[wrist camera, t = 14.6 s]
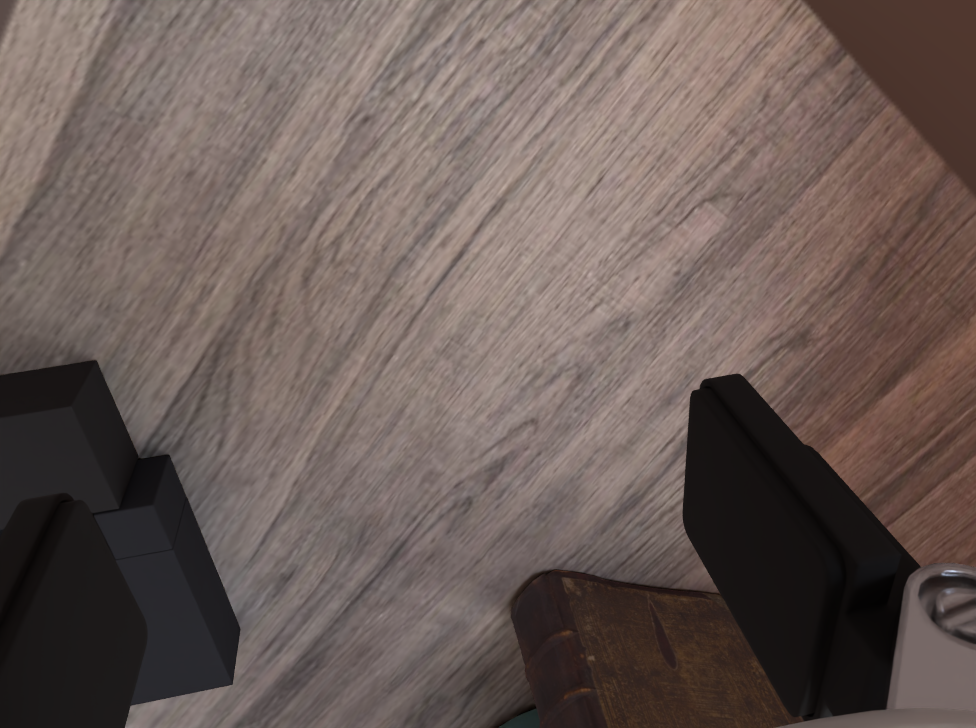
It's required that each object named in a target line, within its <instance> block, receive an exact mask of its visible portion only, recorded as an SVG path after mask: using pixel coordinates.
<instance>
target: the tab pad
mask: <svg viewBox="0 0 976 728" xmlns="http://www.w3.org/2000/svg"><path fill="white" fill-rule="evenodd" d="M137 460H138V455H137V453H136V451H135V448H134V446H133V444H132V441H131V439H130V437H129V434H128V432H127V430H126V428H125V425H124V423H123V421H122V418H121V416H120V414H119V412H118V409H117V407H116V405H115V402H114V400H113V398H112V395H111V393H110V391H109V389H108V386H107V384H106V382H105V379H104V377H103V375H102V373H101V370H100V368H99V366H98V363H97V361H89V362H83V363H77V364H70V365H64V366H58V367H52V368H45V369H39V370H33V371H27V372H20V373H14V374H8V375H1V376H0V530H2V529H4V528H5V527H6V525H7V523H8V521H9V519H10V518H11V516H12V514H13V512H14V510H15V509H16V507H17V505H18V504H19V503H20V502H21V501H23V500H25V499H30V498H36V497H41V496H47V495H53V494H58V493H68V494H69V495H70V496H72V498H73V499H74V500H83V501H84V502H85V503H86V504H87V505H88V507H89V509H90V511H91V513H92V515H93V517H94V514H95V513H96V512H102V511H108V510H113V509H118V508H120V505H121V503H122V500H123V497H124V495H125V492H126V489H127V487H128V484H129V481H130V478H131V476H132V473H133V470H134V468H135V465H136V462H137ZM94 519H95V517H94ZM95 521H96V519H95ZM96 523H97V521H96ZM97 525H98V523H97ZM98 527H99V525H98ZM99 529H100V527H99ZM100 531H101V529H100ZM101 533H102V531H101ZM102 535H103V533H102ZM103 537H104V535H103ZM104 539H105V537H104ZM105 541H106V539H105Z"/></svg>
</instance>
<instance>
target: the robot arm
mask: <svg viewBox="0 0 976 728" xmlns="http://www.w3.org/2000/svg"><path fill="white" fill-rule="evenodd" d="M683 523H684V527H685V530H686V533H687V535H688V537H689V539H690V541H691V543H692V545H693V546H694V548H695V550H696V552H697V553H698V555H699V557H700V559H701V560H702V562H703V564H704V566H705V568H706V569H707V571H708V573H709V575H710V576H711V578H712V580H713V582H714V583H715V585H716V587H717V589H718V590H719V592H720V594H721V596H722V598H723V599H724V601H725V603H726V605H727V606H728V608H729V610H730V612H731V613H732V615H733V617H734V619H735V620H736V622H737V624H738V626H739V628H740V629H741V631H742V633H743V635H744V636H745V638H746V640H747V642H748V643H749V645H750V647H751V649H752V650H753V652H754V654H755V656H756V658H757V659H758V661H759V663H760V665H761V666H762V668H763V670H764V672H765V673H766V675H767V677H768V679H769V681H770V682H771V684H772V686H773V688H774V689H775V691H776V693H777V695H778V696H779V698H780V700H781V702H782V703H783V705H784V707H785V708H786V710H787V711H788V713H789V714H790V715H791V716H793V717H800V716H802V718H803V720H804V721H805V722H800V723H795V724H790V725H785V726H780V727H776V728H976V568H975V567H972V566H967V565H961V564H956V563H934V564H930V565H927V566H924V567H920V565H919V564H918V563H917V562H916V561H915V560H914V559H913V558H912V557H911V555H910V554H909V553H908V552H907V551H906V550H905V549H904V548H903V547H902V545H901V544H900V543H899V542H898V541H897V540H896V539H895V538H894V537H893V535H892V534H891V533H890V532H889V531H888V530H887V529H886V528H885V527H884V525H883V524H882V523H881V522H880V521H879V520H878V519H877V518H876V517H875V515H874V514H873V513H872V512H871V511H870V510H869V509H868V508H867V507H866V505H865V504H864V503H863V502H862V501H861V500H860V499H859V498H858V497H857V495H856V494H855V493H854V492H853V491H852V490H851V489H850V488H849V487H848V485H847V484H846V483H845V482H844V481H843V480H842V479H841V478H840V477H839V475H838V474H837V473H836V472H835V471H834V470H833V469H832V468H831V467H830V465H829V464H828V463H827V462H826V461H825V460H824V459H823V458H822V457H821V455H820V454H819V453H818V452H817V451H815V450H814V449H813V448H812V447H811V446H807V445H804V444H803V443H802V442H801V441H800V440H799V439H798V437H797V436H796V435H795V434H794V433H793V432H792V431H791V430H790V428H789V427H788V426H787V425H786V424H785V423H784V422H783V421H782V419H781V418H780V417H779V416H778V415H777V414H776V413H775V412H774V410H773V409H772V408H771V407H770V406H769V405H768V404H767V403H766V401H765V400H764V399H763V398H762V397H761V396H760V395H759V394H758V392H757V391H756V390H755V389H754V388H753V387H752V386H751V385H750V383H749V382H748V381H747V380H746V379H745V378H744V377H743V376H742V375H741V374H732V375H726V376H721V377H715V378H709V379H705V380H703V381H702V383H701V385H700V389H699V390H694V391H692V393H691V396H690V408H689V423H688V438H687V453H686V469H685V484H684V499H683ZM147 640H148V630H147V624H146V621H145V618H144V616H143V614H142V612H141V610H140V608H139V606H138V604H137V602H136V600H135V598H134V596H133V594H132V592H131V590H130V588H129V586H128V584H127V582H126V580H125V578H124V576H123V574H122V572H121V570H120V568H119V566H118V564H117V562H116V560H115V558H114V556H113V555H112V553H111V551H110V549H109V547H108V545H107V543H106V541H105V539H104V537H103V535H102V533H101V531H100V529H99V527H98V525H97V523H96V521H95V519H94V517H93V515H92V513H91V511H90V509H89V507H88V505H87V504H86V503H85V502H84V501H83V500H74V499H73V498H72V496H70V495H69V494H68V493H58V494H53V495H47V496H41V497H36V498H30V499H25V500H23V501H21V502H20V503H19V504H18V505H17V507H16V509H15V510H14V512H13V514H12V516H11V518H10V519H9V521H8V523H7V525H6V527H5V528H4V530H3V532H2V534H1V536H0V728H125V725H126V721H127V717H128V713H129V710H130V706H131V702H132V698H133V695H134V691H135V687H136V683H137V680H138V676H139V672H140V668H141V664H142V661H143V657H144V653H145V649H146V646H147Z"/></svg>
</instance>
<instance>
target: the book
mask: <svg viewBox="0 0 976 728" xmlns="http://www.w3.org/2000/svg"><path fill="white" fill-rule="evenodd" d="M511 618H512V621H513V625H514V628H515V632H516V635H517V638H518V642H519V645H520V649H521V652H522V656H523V660H524V663H525V674H526V678H527V680H528V681H529V683H530V687H531V690H532V694H533V698H534V701H535V705H536V709H537V712H538V716H539V720H540V727H539V728H776V727H780V726H785V725H790V724H795V723H800V722H805V721H804V720H803V718H802V716H800V717H793V716H791V715H790V714H789V713H788V711H787V710H786V708H785V707H784V705H783V703H782V702H781V700H780V698H779V696H778V695H777V693H776V691H775V689H774V688H773V686H772V684H771V682H770V681H769V679H768V677H767V675H766V673H765V672H764V670H763V668H762V666H761V665H760V663H759V661H758V659H757V658H756V656H755V654H754V652H753V650H752V649H751V647H750V645H749V643H748V642H747V640H746V638H745V636H744V635H743V633H742V631H741V629H740V628H739V626H738V624H737V622H736V620H735V619H734V617H733V615H732V613H731V612H730V610H729V608H728V606H727V605H726V603H725V601H724V599H723V598H722V596H721V595H717V594H709V593H700V592H694V591H690V592H687V591H677V590H667V589H658V588H650V587H643V586H636V585H630V584H624V583H618V582H613V581H608V580H604V579H601V578H598V577H596V576H593V575H588V574H582V573H576V572H570V571H562V570H553V571H552V572H550V573H548V574H542V575H541V576H539V577H538V578H537V579H535V580H534V581H533V582H532V583H531V584H530V585H529V586H528V587H527V588H526V589H525V590H524V591H523V592H522V593H521V595H520V596H519V597H518V599H517V601H516V602H515V604H514V606H513V607H512V610H511Z"/></svg>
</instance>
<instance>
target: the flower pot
mask: <svg viewBox="0 0 976 728" xmlns="http://www.w3.org/2000/svg"><path fill="white" fill-rule="evenodd" d="M539 727H540V720H539V716H538V712H537V709H534V710H531V711H528V712H526V713H523V714H521V715H519V716H517V717H515V718H513V719H511V720H509V721H508V722H506V723H505V724H503V725H502V726H500V727H499V728H539Z"/></svg>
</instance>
